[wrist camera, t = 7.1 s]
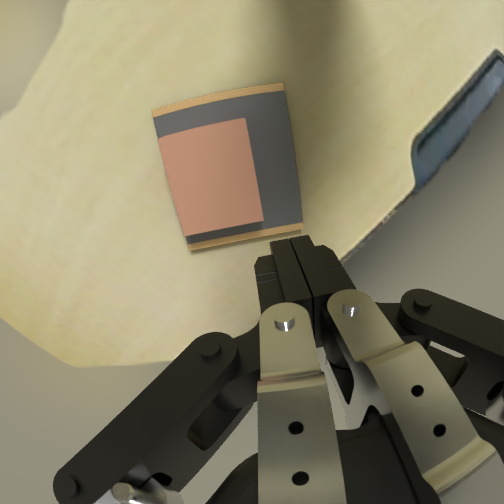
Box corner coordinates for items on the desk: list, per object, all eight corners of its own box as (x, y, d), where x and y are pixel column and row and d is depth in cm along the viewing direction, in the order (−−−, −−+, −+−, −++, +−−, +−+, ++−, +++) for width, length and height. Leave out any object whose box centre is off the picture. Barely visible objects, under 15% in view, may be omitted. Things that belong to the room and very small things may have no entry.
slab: (243, 117, 24) (163, 136, 24) (245, 118, 22) (157, 138, 22) (260, 211, 29) (188, 225, 29) (263, 220, 27) (184, 236, 27)
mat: (153, 110, 23) (151, 110, 23) (282, 83, 23) (283, 82, 22) (190, 247, 31) (189, 250, 31) (302, 226, 31) (303, 228, 30)
